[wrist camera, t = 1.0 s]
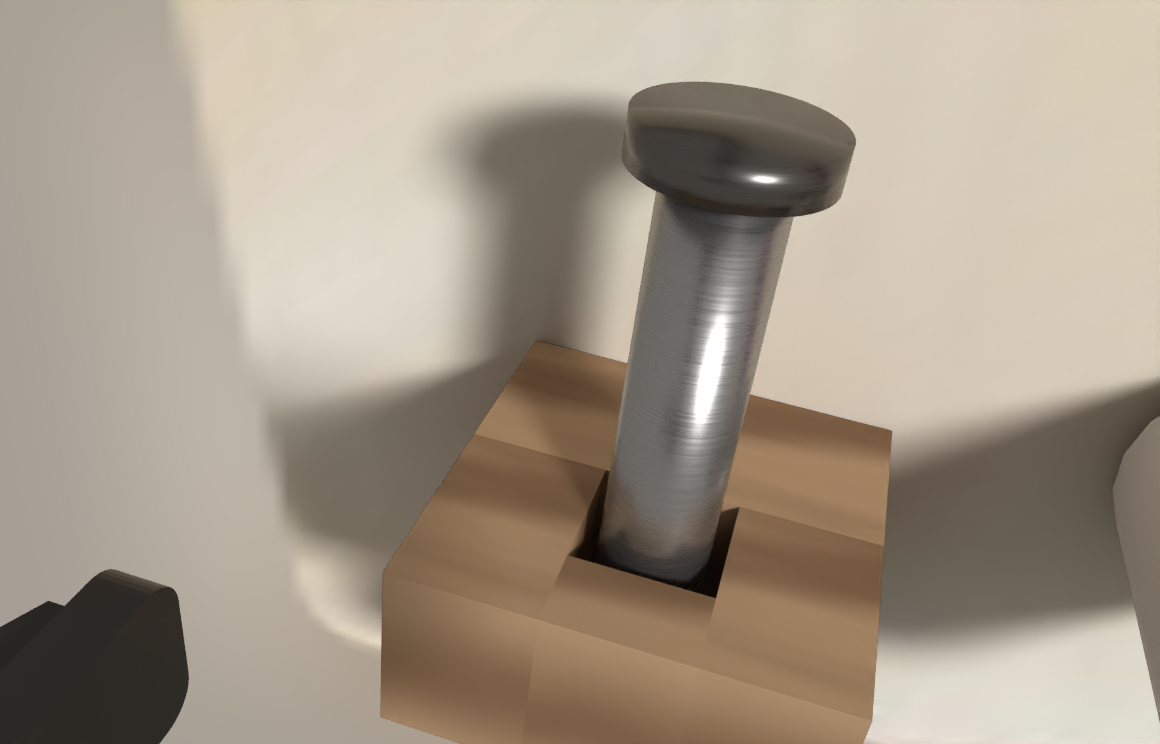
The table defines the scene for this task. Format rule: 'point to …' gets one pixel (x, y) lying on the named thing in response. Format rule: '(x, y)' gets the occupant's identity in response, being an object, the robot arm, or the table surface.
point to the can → (1142, 538)
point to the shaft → (704, 303)
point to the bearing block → (637, 584)
